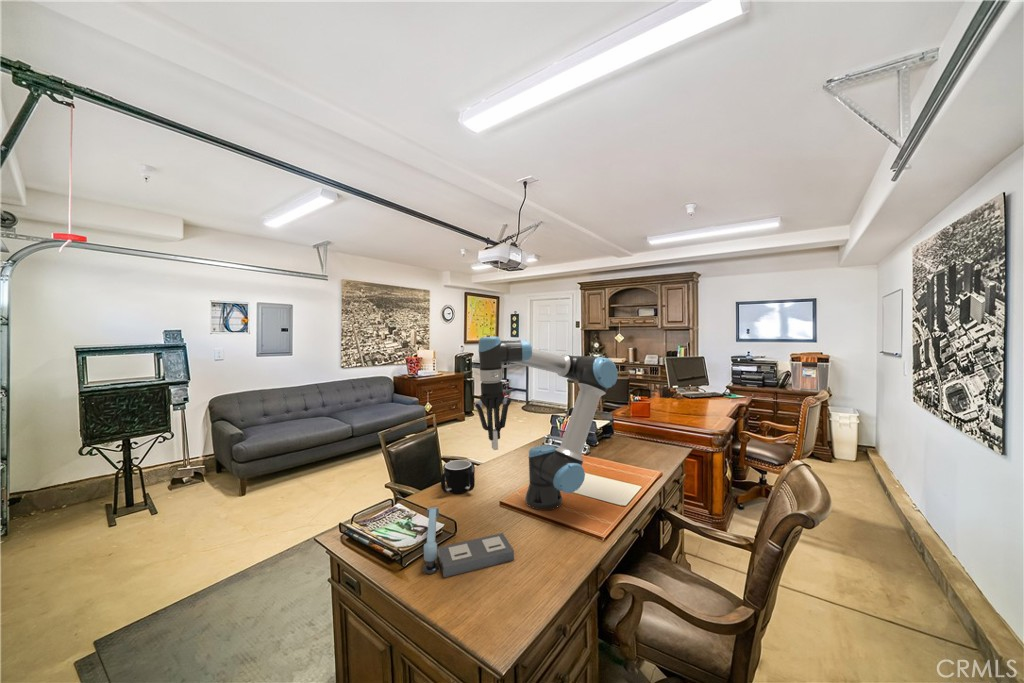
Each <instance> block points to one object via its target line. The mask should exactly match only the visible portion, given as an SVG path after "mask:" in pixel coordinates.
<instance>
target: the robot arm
mask: <svg viewBox="0 0 1024 683" xmlns="http://www.w3.org/2000/svg"><path fill="white" fill-rule="evenodd" d="M478 357H479V358H478V359H479V378H480V381H481V383H480V394H481V395H480V396H479V397H480V398H479V400H478V401H477V402H475V403H474V404H473V406H474V407H475V408H476V410H477V413H478V416H479V421H480V423H481V427H482V429H484V431H487V434H488V439H489V441H490V442H491V448H492V450H493V451H496V450H498V451H499V440H500V439H501V429H503V428H505V427H506V423H507V416H508V411H509V406H510V404H511V402H512V401H511V399H509V398H507V397H505V395H504V390H503V389H504V388H503V382H502V380H503V373H502V364H506V363H511V364H516V365H519V366H525V367H530V368H533V369H536V370H542V371H546V372H550V373H551V372H552V373H555V374H557V376H558V377H561V378H567V379H569V380H571V381H574V382H577V385H578V388H579V391H578V394H577V397H576V399H575V403H574V406H573V409H572V410H571V411H572V412H571V414H570V417H569V420H568V422H567V426H566V428H565V431H564V433H563V434H564V435H563V437H562V439H561V443H560V446H559V447H556V446H554V445H548V444H545V445H537V446H533V447H531V448H530V449H529V450H528V457H527V458H528V472H529V473H528V477H529V478H528V479H529V484H528V488H527V491H526V494H525V503H526V502H527V503H526V505H527V504H528V505H530V506H531V507H530V506H529V507H530V508H532V507H534V508H537V509H536V510H539V509H550V510H554V509H557V508H558V507H557V506H559V505H560V504H561V503H563V496H562V493H561V492H563V493H564V494H571V493H574V492H575V491H578V490H579V488H581V487H582V485H583V483H584V482H585V477H586V473H585V469H584V467H583V463H584V458H583V456H582V453H583V450H584V449H585V448H584V447H585V445H586V441H587V439H588V435H589V432H590V430H591V427H592V425H593V424H592V423H593V421H594V417H595V414H596V411H597V409H598V405H599V403H600V399H601V397H602V396H604V395H606V394H607V391H608V389H610V388H612V387H613V386H615V385H616V383H617V380H618V375H619V373H618V369H617V366H616V364H615V362H614V361H613V360H611V359H610V358H607V357H602V356H589V355H587V356H586V355H569V354H561V355H559V354H556V353H551V352H548V351H547V352H546V351H543V350H541V349H536V348H533V346H532V344H531V341H528V340H526V339H525V340H524V339H519V340H501V337H499V336H483V337H480V338H479V340H478ZM501 404H502V408H501V409H500V406H501ZM483 405H484V407H486V417H485V413H484V410H483V408H482V407H483ZM500 410H501V414H500ZM493 421H494V422H493ZM528 505H527V506H528ZM561 505H562V504H561ZM561 505H560V506H561ZM560 506H559V507H560ZM556 507H557V508H556ZM534 508H533V509H534ZM553 508H554V509H553Z"/></svg>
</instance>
